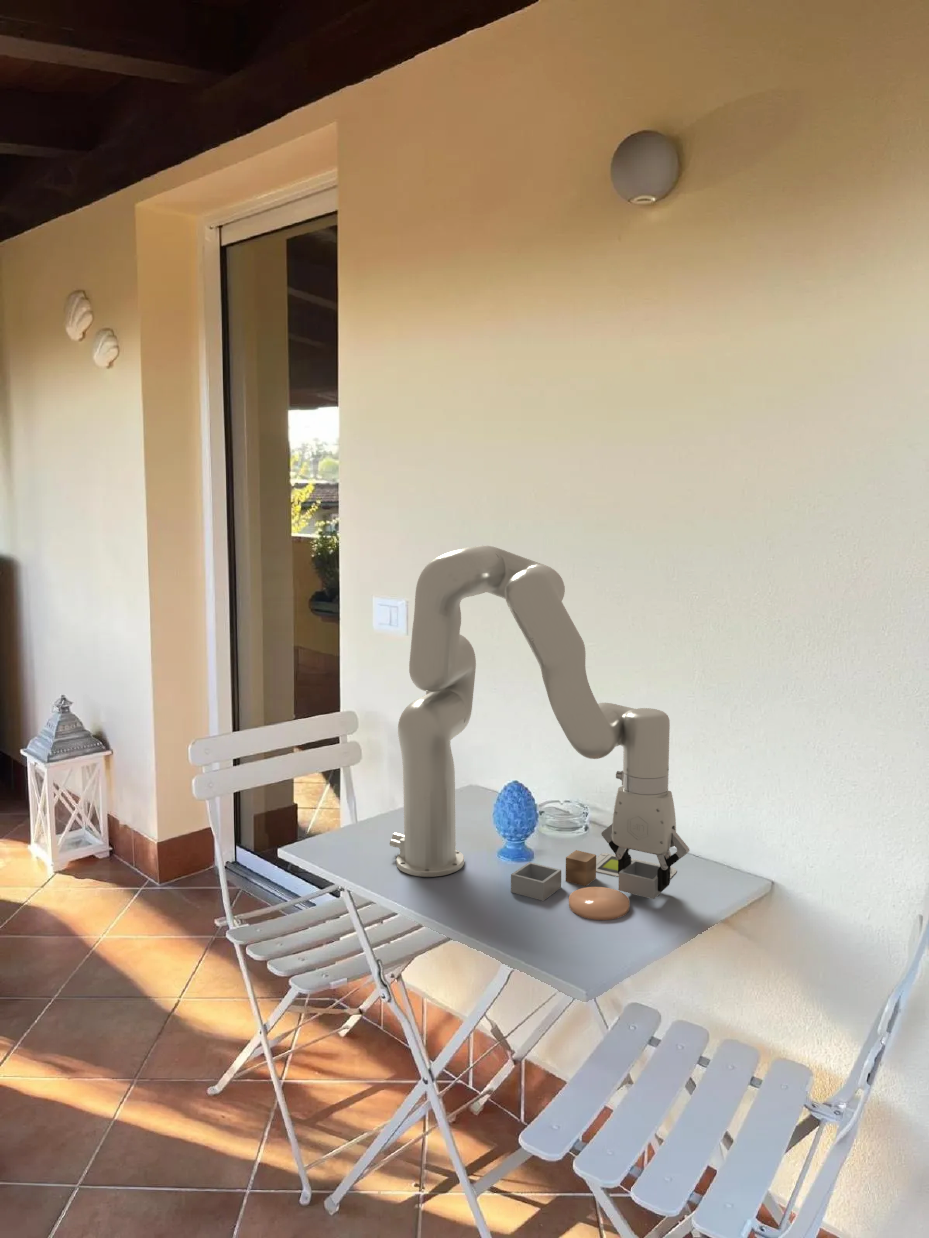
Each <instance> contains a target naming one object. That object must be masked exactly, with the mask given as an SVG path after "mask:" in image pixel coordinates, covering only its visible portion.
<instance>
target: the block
mask: <svg viewBox="0 0 929 1238" xmlns="http://www.w3.org/2000/svg"><path fill="white" fill-rule="evenodd" d="M596 858H597V855H596V854H594V853H590V852H586V851H582V850H577V849H576V850H574V851H572V853H570V854H568V856H565V882H567V883H571V884H575V885H579V886H583V887H588V885H590V884H591V883H592V882H593V881H595V880H596V879H597V872H596Z"/></svg>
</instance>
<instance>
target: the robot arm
mask: <svg viewBox="0 0 929 1238" xmlns="http://www.w3.org/2000/svg"><path fill="white" fill-rule="evenodd" d="M485 593H488V594H492V595H494V596H496V597H499V598H502V599H504V600H505V603H506V605H507V607H508V609H509V611H510V613H511V614H512V617H513V618H514V620H515V622H516V624H517V626H518V627H519V629H520V631H521V632H522V635H523V636H524V638H525V640H526V642H527V643H528V645H529V647H530V650H531V652H532V653H533V656H534V657H535V659H536V661H537V663H538V666H539V668H540V672H541V676H542V680H543V683H544V687H545V692H546V695H547V698H548V701H549V704H550V707H551V709H552V712H553V713H554V716H555V719H556V720H557V722H558V725H559V726H560V727H561V730H562V731H563V734H564V735H565V736H566V737H565V738H566V739H567V740H568V742H569V744H570V745H571V746H572V747H573V749H574V750H575V752H576V753H578V754H579V755H581V756H582V757H585V758H587V759H590V760H598V759H602V758H605V757H607V756H608V755H609V754H610V753H612V752H613V750H614V749H615V748H616V747H618V746H621V747H623V748H622V749H623V751H622V752H623V757H622V758H623V759H622V761H623V765H622V766H623V767H622V770H620V771H619V770H617V771H616V772H615V779H617V780H620V781H621V785H620V786H619V787H618V788H617V792H616V796H615V801H614V808H613V814H612V823H611V824H610V825H609V826H608V827H606V828H605V829H604V830H603V831H601V833H600V834H601V837H602V838H603V839H604V841H605V842H606V843H608V847H610V849H611V850H612V852H613V853H614V855H615V856H616V858H617V859H618V874H619V872H620V871H621V870H622V869H625V868H626V867H627V866H629V865H630V864H631V858H632V856H631V854H629V852H630V850H633V851H637V852H642V853H646V854H651V855H656V858H657V860H658V864H660V868H658V870H657V877H658V891H659V892H661V893H662V892H663V891H664V890H665V889H666V888H668V885H669V886H670V884H671V879H670V867H672V866H673V865H674V864H675V863H677V862H678V861H679V860H681V858H683V857H685V856H686V855H687V854H689V852H690V847H689V846H688V845H687V844H686V842H685V841H684V840H683V838H681V836H680V835H679V834H678V832H677V822H676V820H677V819H676V809H675V802H674V798H673V793H672V791H671V790H669V775H670V774H669V772H670V771H669V767H670V766H669V765H670V764H669V759H670V732H671V731H670V728H671V727H670V721H671V720H670V718H669V715H668V714H667V713H666V712H665V711H664V710H660V709H658V708H657V709H656V708H650V707H649V708H647V707H643V708H641V707H640V708H633V707H628V706H623V705H619V704H616V703H612V702H597V700H596V697H595V695H594V693H593V691H592V689H591V686H590V683H589V679H588V676H587V670H586V654H587V653H586V646H585V642H584V640H583V638H582V636H581V634H580V633H579V631H578V629H577V627H576V625H575V624H574V622H573V620H572V618H571V616H570V614H569V612H568V611H567V609H566V607H565V605H564V603H563V599H564V597H565V594H566V592H565V583H564V580H563V578H562V576H561V574H560V573H558V571H556V570H555V569H554V568H552V567H551V566H548V565H545V564H543V563H541V562H538V561H534V560H532V559H530V558H527V557H522V556H520V555H518V554H515V553H512V552H510V551H508V550H507V551H506V550H504V549H502V548H499V547H497V546H491V545H476V546H469V547H463V548H459V549H455V550H451V551H449V552H446V553H444V554H441V555H440V556H437V557H436V558H433V560H431V561H430V562H428V564H426V566H425V567H424V568H423V570H421V572H420V574H419V576H418V580H417V582H416V587H415V595H414V597H415V598H414V608H413V609H414V611H413V621H412V628H411V629H412V630H411V631H412V632H411V639H410V640H411V643H410V652H409V662H408V663H409V665H408V666H409V670H408V671H409V676H410V680H411V681H412V683H413V684H414V685H415V687H416V688H418V689H419V690H421V691H423V692H425V694H424V695H422V696H420V697H419V698H417V699H415V700H414V701H412V702H410V704H408V705H407V706H406V707H405V708H404V710H403V711H402V712H401V715H400V717H399V721H398V724H397V734H398V736H397V737H398V741H399V746H400V752H401V760H402V782H403V783H402V785H403V787H402V788H403V790H402V791H403V833H401V832H398V831H395V832H394V833H392V835H391V836H392V837H391V839H390V840H389V846H390V847H392V848H398V849H399V854H398V855H397V856H396V859H395V860H396V861H395V863H396V867H397V868H398V869H399V871H400V872H403V873H405V874H407V875H410V876H415V877H420V878H421V877H423V878H435V877H442V876H447V875H451V874H454V873H456V872H458V871H460V869H463V866H465V856H464V854H463V853H462V852H461V851H459V850H458V849H456V848H457V847H456V845H457V843H456V842H457V841H456V837H457V836H456V776H455V775H456V770H455V762H454V756H453V752H452V746H451V741H452V740H453V739H454V738H455V737H457V736H458V735H460V734H461V733H462V732H463V731H464V730H465V729H466V727H467V726H468V724H469V722H470V719H471V715H472V710H473V702H474V701H473V700H474V690H475V681H476V680H475V678H476V667H477V660H476V659H477V658H476V653H475V650H474V647H473V646H472V644H471V642H470V641H469V640H468V639H467V638H466V637H465V636H464V635H462V634H461V633H460V632H461V625H462V612H461V602H462V600H463V599H466V598H469V597H475V596H478V595H482V594H485ZM673 847H675V848H676V851H675V852H674V853H671V850H670V849H671V848H673Z"/></svg>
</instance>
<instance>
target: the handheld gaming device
mask: <svg viewBox="0 0 929 1238" xmlns="http://www.w3.org/2000/svg"><path fill="white" fill-rule="evenodd" d="M633 860H637V861H641V862H646V863H650V864H655V865H659V866H660V863H655V862H650V861H646V860H642V859H641V860H640V859H637V858H632V857H631V862H632V861H633ZM596 873H598V874H602V875H608V876H613V877H615V876H616V877H615V878H619V874H618V859H617V858H616V856H615V853H614V854H612V853H609V852H603V853H602V852H601V854H599V855H598V856H596ZM676 873H677V869H676V868H675V867H673V866H670V880H671V879H672V878H673V877H674V876H675V875H676ZM674 874H675V875H674ZM672 876H673V877H672Z"/></svg>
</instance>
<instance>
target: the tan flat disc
mask: <svg viewBox="0 0 929 1238" xmlns="http://www.w3.org/2000/svg"><path fill="white" fill-rule="evenodd" d="M568 907H569V910H570V911H571V912H572V913H574V914H575V915H577V916H579V917H581V918H584V919H589V920H595V921H612V920H616V919H620V918H622V917H624V916H626V915H627V914H628V913H629V910H630V898H629V897H628V896H627V894H625V893H623V891H619V890H616V889H615V888H609V887H604V886H585V887H581V888H578V889H577V890H574V891H572V892H571V893H570V894H569V896H568Z"/></svg>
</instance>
